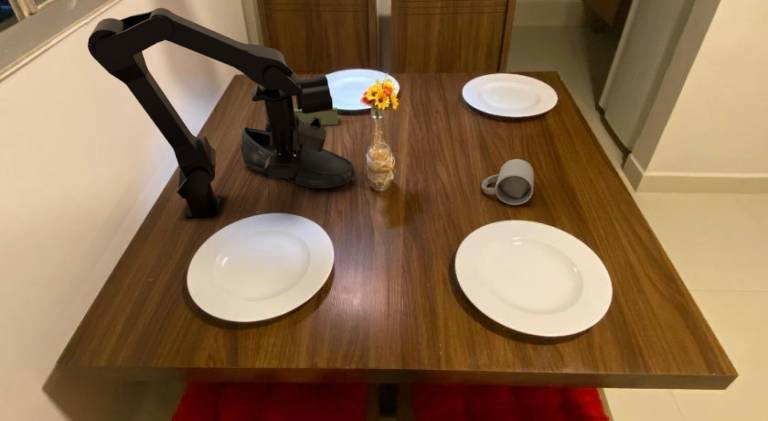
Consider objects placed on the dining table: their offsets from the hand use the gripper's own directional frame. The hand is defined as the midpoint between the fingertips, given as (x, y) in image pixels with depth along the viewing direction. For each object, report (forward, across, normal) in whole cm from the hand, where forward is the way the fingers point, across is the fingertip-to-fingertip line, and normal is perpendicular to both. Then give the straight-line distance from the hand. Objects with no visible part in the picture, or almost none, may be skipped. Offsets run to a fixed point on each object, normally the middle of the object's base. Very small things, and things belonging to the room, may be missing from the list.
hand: (292, 180), depth 97 cm
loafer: (+3, +7, 0) cm, 7 cm away
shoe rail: (+3, +31, 0) cm, 31 cm away
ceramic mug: (+4, -4, -47) cm, 47 cm away
